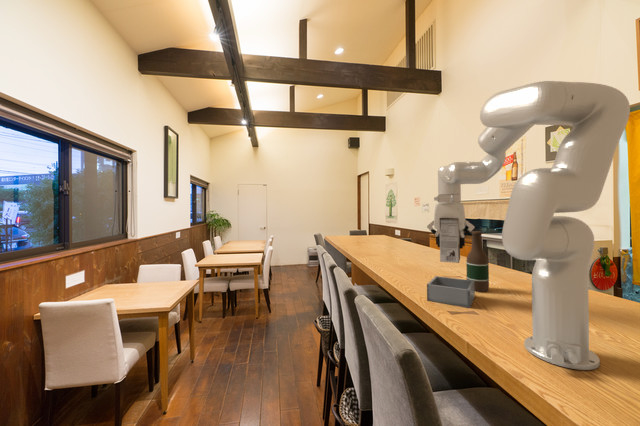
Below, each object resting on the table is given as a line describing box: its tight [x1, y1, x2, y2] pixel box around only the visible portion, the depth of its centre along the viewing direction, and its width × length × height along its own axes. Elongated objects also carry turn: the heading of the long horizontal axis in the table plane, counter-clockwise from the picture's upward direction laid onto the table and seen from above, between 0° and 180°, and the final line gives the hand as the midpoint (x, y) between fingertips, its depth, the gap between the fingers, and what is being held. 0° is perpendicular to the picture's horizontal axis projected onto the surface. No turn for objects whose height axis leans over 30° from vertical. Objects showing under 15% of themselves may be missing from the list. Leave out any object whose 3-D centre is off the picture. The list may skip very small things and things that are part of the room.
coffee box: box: [439, 218, 461, 264], centre depth 97 cm, size 9×6×16 cm
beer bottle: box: [465, 230, 490, 293], centre depth 107 cm, size 8×8×24 cm
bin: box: [426, 275, 476, 309], centre depth 98 cm, size 14×14×6 cm
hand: (450, 247), depth 97 cm, fingers closed on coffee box, 6 cm apart
